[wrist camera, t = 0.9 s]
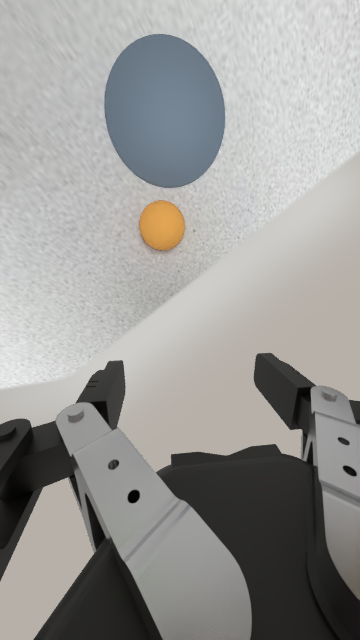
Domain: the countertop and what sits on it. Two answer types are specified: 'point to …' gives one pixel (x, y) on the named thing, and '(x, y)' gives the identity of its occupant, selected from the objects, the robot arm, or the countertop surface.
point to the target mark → (164, 110)
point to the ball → (162, 225)
